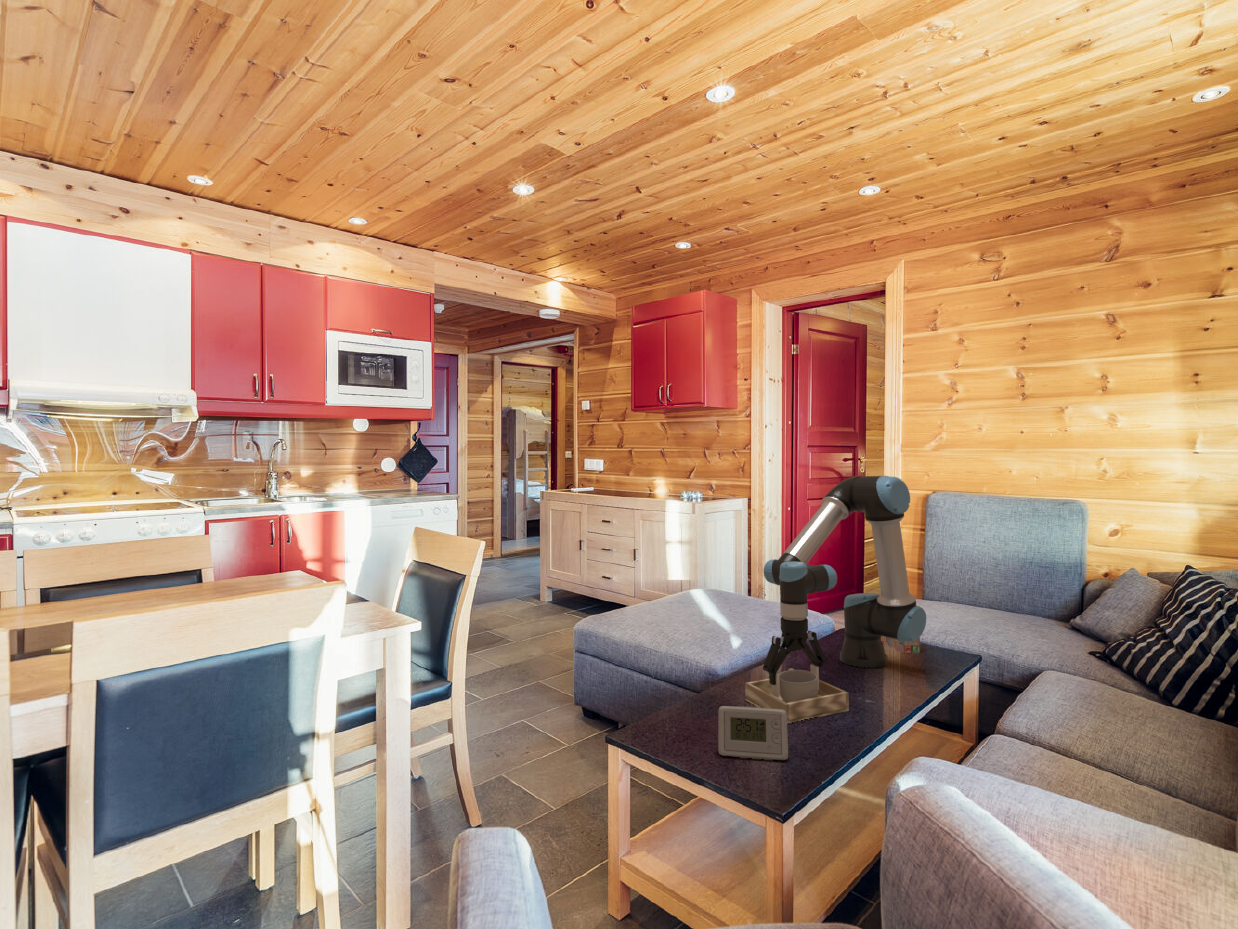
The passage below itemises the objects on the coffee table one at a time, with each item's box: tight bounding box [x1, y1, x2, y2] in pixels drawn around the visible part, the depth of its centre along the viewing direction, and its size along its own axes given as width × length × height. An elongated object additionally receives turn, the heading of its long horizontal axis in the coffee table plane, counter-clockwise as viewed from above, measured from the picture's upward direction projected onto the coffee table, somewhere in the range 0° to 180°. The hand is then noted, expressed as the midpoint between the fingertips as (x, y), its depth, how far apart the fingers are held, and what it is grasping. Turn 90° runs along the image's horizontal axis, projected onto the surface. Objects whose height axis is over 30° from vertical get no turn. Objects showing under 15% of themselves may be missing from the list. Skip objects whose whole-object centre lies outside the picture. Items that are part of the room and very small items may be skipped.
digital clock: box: [717, 705, 789, 761], centre depth 150 cm, size 16×9×11 cm, turn 67°
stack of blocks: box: [881, 636, 921, 654], centre depth 237 cm, size 21×6×12 cm, turn 6°
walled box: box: [744, 678, 850, 725], centre depth 180 cm, size 21×19×5 cm
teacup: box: [778, 668, 818, 703], centre depth 180 cm, size 14×11×8 cm
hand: (795, 692), depth 180 cm, fingers open, 13 cm apart
